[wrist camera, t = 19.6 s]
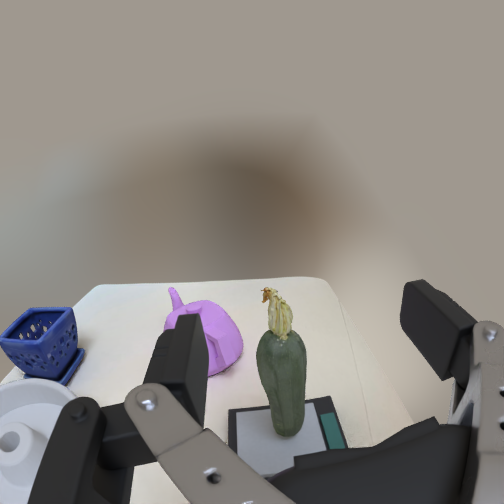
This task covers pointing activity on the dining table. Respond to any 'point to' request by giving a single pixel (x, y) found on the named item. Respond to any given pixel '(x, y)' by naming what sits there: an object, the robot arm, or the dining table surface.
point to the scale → (276, 446)
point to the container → (26, 432)
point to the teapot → (211, 330)
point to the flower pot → (44, 344)
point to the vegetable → (282, 367)
